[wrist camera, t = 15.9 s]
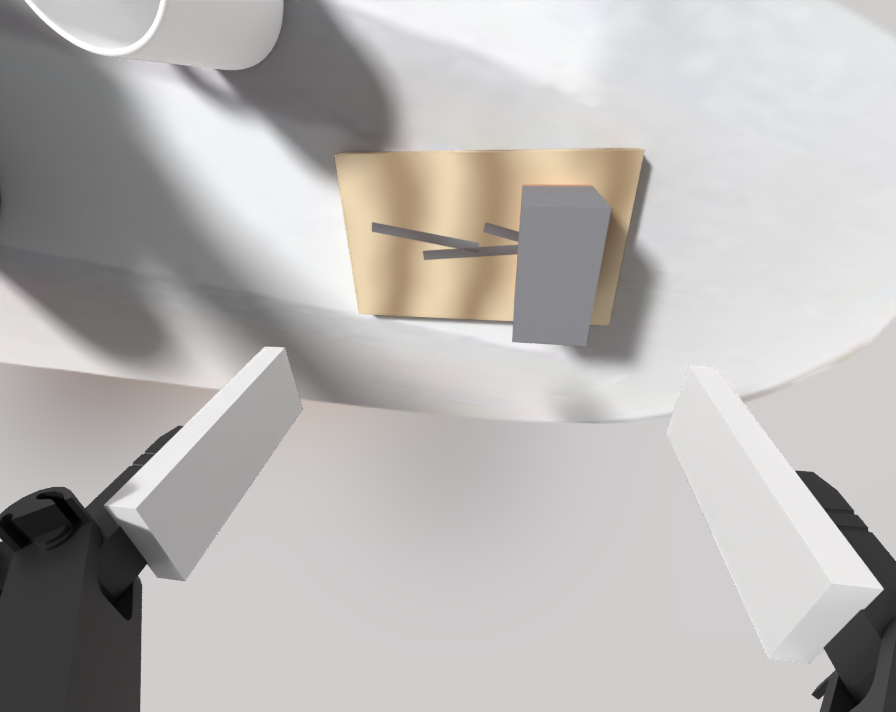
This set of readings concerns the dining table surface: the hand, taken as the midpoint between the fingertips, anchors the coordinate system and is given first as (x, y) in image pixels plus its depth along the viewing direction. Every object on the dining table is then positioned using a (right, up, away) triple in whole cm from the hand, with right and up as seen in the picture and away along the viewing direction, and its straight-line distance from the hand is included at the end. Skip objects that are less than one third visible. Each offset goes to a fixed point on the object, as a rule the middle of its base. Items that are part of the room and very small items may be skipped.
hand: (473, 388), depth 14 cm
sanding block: (+6, +9, +15) cm, 18 cm away
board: (+2, +10, +17) cm, 20 cm away
